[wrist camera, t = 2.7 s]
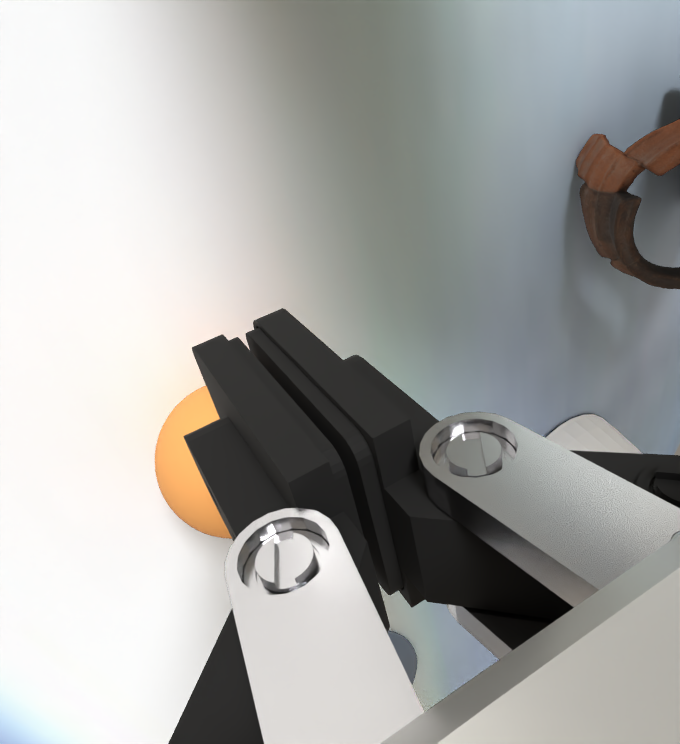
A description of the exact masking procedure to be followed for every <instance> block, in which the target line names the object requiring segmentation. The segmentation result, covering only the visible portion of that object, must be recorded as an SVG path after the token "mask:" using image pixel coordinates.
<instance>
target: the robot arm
mask: <svg viewBox="0 0 680 744" xmlns="http://www.w3.org/2000/svg"><path fill="white" fill-rule="evenodd" d="M253 325H254V330H252V331H250V332H248V333H246V339H247V342H248V345H249V348H250V350H249V349H248V348H247V347H246V346H245V344H244V343H243V342H242V341H241V340H240V339H239V338H238V337H236V338H234V339H232V340H229V341H228V340H227V339H226V337H225V336H224V335H223V334H222V335H220V336H217V337H215V338H213V339H211V340H208V341H206V342H204V343H201V344H199V345H197V346H194V347H192V350H193V354H194V356H195V359H196V362H197V364H198V366H199V369H200V371H201V374H202V376H203V379H204V381H205V384H206V386H207V388H208V391H209V393H210V396H211V398H212V401H213V403H214V406H215V408H216V411H217V413H218V415H219V418H220V419H218V420H216V421H214V422H212V423H210V424H208V425H206V426H204V427H202V428H199V429H197V430H195V431H193V432H191V433H189V434H187V435H185V436H183V437H184V439H185V442H186V444H187V446H188V448H189V451H190V453H191V455H192V457H193V459H194V461H195V464H196V466H197V468H198V470H199V472H200V474H201V476H202V479H203V481H204V483H205V485H206V487H207V489H208V491H209V493H210V495H211V497H212V499H213V501H214V503H215V505H216V507H217V510H218V511H219V513H220V515H221V517H222V519H223V521H224V523H225V525H226V527H227V529H228V531H229V533H230V535H231V537H232V539H233V541H234V542H233V544H232V545H231V547H230V548H229V551H228V554H227V558H226V561H225V579H226V583H227V588H228V592H229V596H230V600H231V605H232V610H231V612H230V614H229V616H228V618H227V620H226V622H225V624H224V627H223V629H222V631H221V633H220V635H219V637H218V639H217V641H216V644H215V646H214V648H213V650H212V652H211V654H210V656H209V658H208V661H207V663H206V665H205V667H204V669H203V671H202V673H201V675H200V678H199V680H198V682H197V684H196V686H195V688H194V690H193V692H192V695H191V697H190V699H189V701H188V703H187V705H186V707H185V709H184V712H183V714H182V716H181V718H180V720H179V722H178V724H177V726H176V729H175V731H174V733H173V735H172V737H171V739H170V741H169V743H168V744H680V456H678V455H658V454H637V453H616V452H595V451H575V450H567V449H566V448H564V447H562V446H560V445H558V444H556V443H554V442H552V441H550V440H548V439H547V438H545V437H543V436H541V435H539V434H537V433H535V432H533V431H531V430H529V429H528V428H526V427H524V426H522V425H520V424H518V423H516V422H514V421H512V420H510V419H508V418H505V417H503V416H500V415H497V414H493V413H485V412H468V413H461V414H457V415H454V416H450V417H447V418H445V419H443V420H442V421H440V422H439V421H438V420H437V419H436V418H434V417H433V416H432V415H431V414H430V413H428V412H427V411H426V410H425V409H424V408H422V407H421V406H420V405H419V404H418V403H416V402H415V401H414V400H413V399H411V398H410V397H409V396H408V395H407V394H405V393H404V392H403V391H402V390H401V389H399V388H398V387H397V386H396V385H395V384H393V383H392V382H391V381H390V380H389V379H387V378H386V377H385V376H384V375H382V374H381V373H380V372H379V371H378V370H376V369H375V368H374V367H373V366H372V365H370V364H369V363H368V362H367V361H366V360H364V359H363V358H362V357H360V356H358V355H353V356H351V357H349V358H347V359H345V360H342V359H341V358H340V357H339V356H338V355H337V354H336V353H334V352H333V351H332V350H331V349H330V348H329V347H328V346H326V345H325V344H324V343H323V342H322V341H321V340H320V339H318V338H317V337H316V336H315V335H314V334H313V333H312V332H310V331H309V330H308V329H307V328H306V327H305V326H304V325H302V324H301V323H300V322H299V321H298V320H297V319H296V318H294V317H293V316H292V315H291V314H290V313H289V312H288V311H287V310H285V309H283V308H282V309H280V310H278V311H275V312H273V313H271V314H268V315H266V316H264V317H261V318H259V319H257V320H254V322H253ZM378 583H379V584H380V585H381V587H382V588H383V589H384V591H385V592H386V593H387V594H388V595H391V594H393V593H395V592H396V591H398V590H399V591H400V593H401V594H402V595H403V597H404V598H405V599H406V601H407V602H408V603H409V605H410V606H411V607H414V606H415V605H417V604H418V603H420V602H421V601H423V600H425V599H426V601H427V602H433V603H441V604H447V607H448V610H449V612H450V613H451V614H452V616H453V617H454V618H455V619H456V621H457V622H458V623H459V624H460V625H462V626H463V627H464V628H465V629H466V630H467V631H468V632H469V633H470V634H472V635H473V636H474V637H475V638H476V639H477V640H478V641H479V642H480V643H481V644H483V645H484V646H485V647H486V648H487V649H488V650H489V651H490V652H491V653H493V654H494V655H495V656H496V657H497V658H498V659H499V660H498V661H497V662H496V663H494V664H493V665H491V666H490V667H488V668H487V669H486V670H484V671H483V672H481V673H480V674H478V675H477V676H475V677H474V678H473V679H471V680H470V681H468V682H467V683H465V684H464V685H463V686H461V687H460V688H458V689H457V690H455V691H454V692H453V693H451V694H450V695H448V696H447V697H446V698H444V699H443V700H441V701H440V702H438V703H437V704H436V705H434V706H433V707H431V708H430V709H429V710H427V711H426V712H424V710H423V707H422V705H421V703H420V701H419V699H418V697H417V695H416V693H415V691H414V688H413V686H412V684H411V682H410V680H409V678H408V676H407V674H406V672H405V669H404V667H403V665H402V663H401V661H400V659H399V657H398V655H397V653H396V650H395V648H394V646H393V644H392V642H391V640H390V638H389V636H388V631H389V627H390V624H389V621H388V617H387V613H386V610H385V606H384V602H383V599H382V595H381V591H380V587H379V584H378Z"/></svg>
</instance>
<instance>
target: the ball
mask: <svg viewBox="0 0 680 744" xmlns="http://www.w3.org/2000/svg"><path fill="white" fill-rule="evenodd" d="M218 419H220V418H219V415H218V413H217V411H216V408H215V406H214V403H213V401H212V398H211V396H210V393H209V391H208V388H207V386H204V387H202V388H200V389H198V390H196V391H194V392H193V393H191V394H190V395H188V396H187V397H186V398H184V399H183V400H182V401H181V402H180V403H179V404H178V405H177V406H176V407H175V408H174V409H173V411H172V412H171V413H170V415H169V416H168V418H167V420H166V421H165V423H164V425H163V427H162V429H161V431H160V434H159V437H158V441H157V445H156V451H155V472H156V477H157V481H158V485H159V488H160V490H161V492H162V495H163V497H164V498H165V500H166V502H167V503H168V505H169V507H170V508H171V509H172V510H173V511H174V513H175V514H176V515H177V516H178V517H179V518H180V519H182V520H183V521H184V522H185V523H187V524H188V525H189V526H191V527H192V528H194V529H196V530H198V531H200V532H203V533H205V534H208V535H211V536H216V537H221V538H230V539H232V537H231V535H230V533H229V531H228V529H227V527H226V525H225V523H224V521H223V519H222V517H221V515H220V513H219V511H218V510H217V507H216V505H215V503H214V501H213V499H212V497H211V495H210V493H209V491H208V489H207V487H206V485H205V483H204V481H203V479H202V476H201V474H200V472H199V470H198V468H197V466H196V464H195V461H194V459H193V457H192V455H191V453H190V451H189V448H188V446H187V444H186V442H185V439H184V437H183V436H185V435H187V434H189V433H191V432H193V431H195V430H197V429H199V428H202V427H204V426H206V425H208V424H210V423H212V422H214V421H216V420H218Z"/></svg>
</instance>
